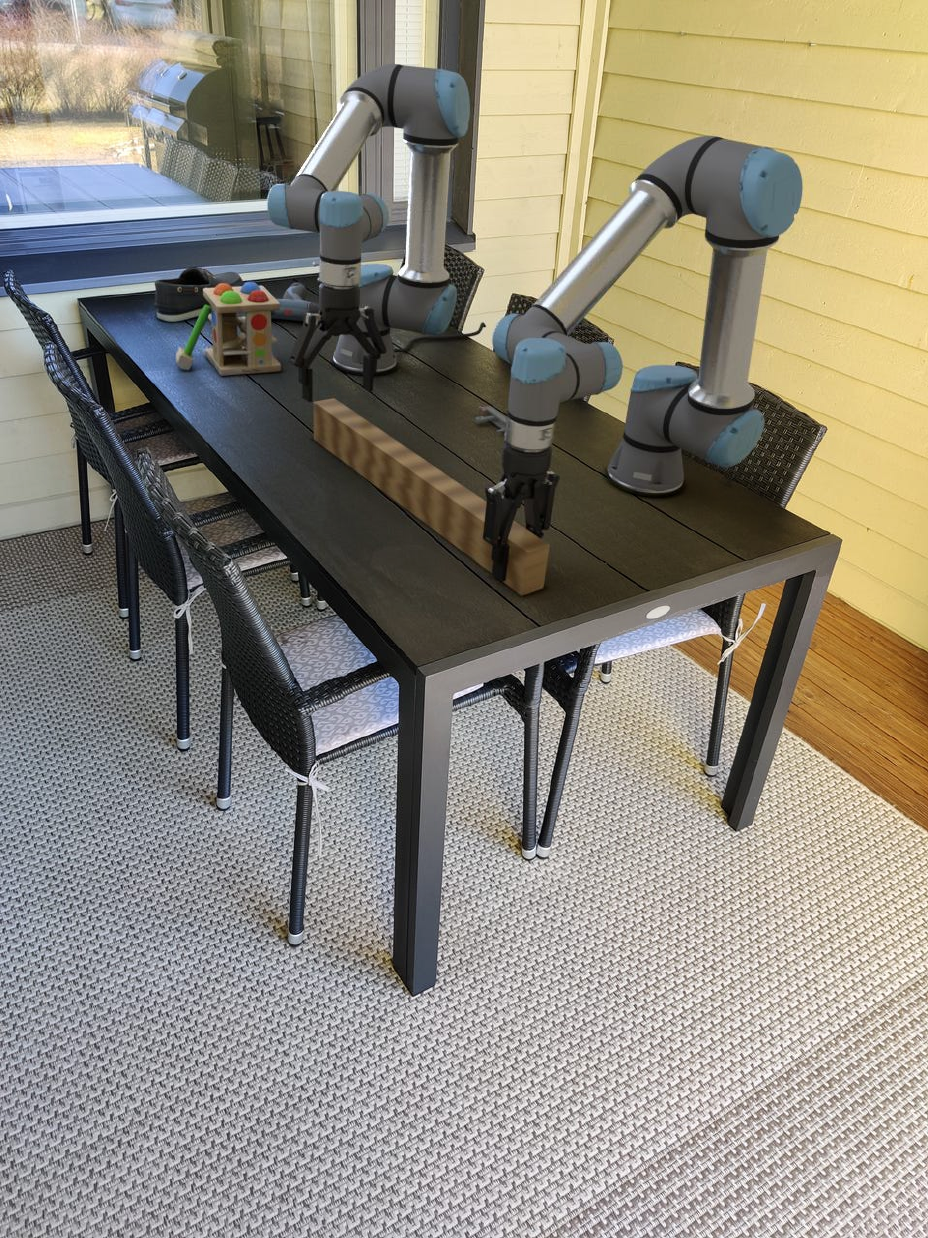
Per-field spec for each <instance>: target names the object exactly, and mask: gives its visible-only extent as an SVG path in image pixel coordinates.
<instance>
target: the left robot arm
mask: <svg viewBox="0 0 928 1238" xmlns="http://www.w3.org/2000/svg"><path fill="white" fill-rule="evenodd" d="M470 118H471V101H470V94H469V89H468V86H467V83H466V80H465V79H464V77H463V76H462V75H461V74H459V73H458V72H455V71H452V70H451V71H450V70H446V69H444V68H435V67H434V68H433V67H423V66H414V65H405V64H399V63H398V64H397V63H386V64H383V65H379V66H377V67H375V68H372V69H370V70H368V71H366V72H365V73H364V74H362V75H360V76H359V77H358V78H357V79H355V80H354V81H353V82H351V84H350V85H349V86H348V87H347V88H346V89H345V91H344V92H343V93H342V96H341V97H340V98H339V100H338V103H337V113H336V114H335V116H334V118H333V119H332V120H331V122H330V123H329V125H328V126H327V128H326V130H325V131H324V132H323V134H322V136H321V138H320V139H319V140H318V142H317V144H316V145H315V146H314V148H313V150H312V151H311V152H310V154H309V156H308V158H307V159H306V161H305V162H304V163H303V165H302V166H301V168H300V170H299V172H297V174H296V175H295V177H294V179H293V180H292V182H291V183H290V184H288V183H286V182H285V183H276V184H274V185H272V187H270V189H269V192H268V195H267V200H266V211H267V214H268V218H269V220H270V221H271V223H273V225H275V226H278V227H283V228H287V229H290V230H296V231H297V230H298V231H302V232H303V231H304V232H310V233H317V234H319V263H320V265H318V266H319V268H318V269H319V271H318V272H319V273H318V278H319V280H320V281H321V282H320V284H319V289H318V293H319V294H318V304H320V311H319V314H311V313H309V312H305V314H304V321H302V325H301V328H300V331H299V333H298V336H297V338H296V340H295V342H294V345H293V348H292V349H291V352H290V355H289V357H288V363H289V364H291V365H292V366H295V367H296V368H297V371H298V373H297V374H298V379H297V380H298V383H299V384H300V385H301V398H302V399H303V400H304V401H306V402H308V403H314V402H313V399H314V398H313V397H314V396H313V392H314V391H313V388H314V387H313V386H314V385H313V384H314V383H313V381H314V380H313V378H314V377H313V375H314V370H313V368H312V367H311V364H312V363H313V361H314V360H315V359H316V358H317V356H318V354H319V353H320V351H321V350H322V348H323V347H324V346H325V344H326V343H327V342H328V341H330V340H331V339H332V337H339V338H338V341H337V344H336V348H335V350H334V352H333V361H332V362H333V363H332V364H333V366H334V367H335V368H337V369H338V370H339V371H342V372H344V373H347V374H352V375H356V376H362V384H361V385H362V387H361V388H362V389H364V390H366V391H367V392H369V393H371V392H373V391H374V376H380V375H381V376H382V375H386V374H389V373H391V372H393V371H395V369H396V368H397V361H398V360H397V354H396V353H398V354H400V353H401V354H402V353H405V352H407V351H408V350H409V349H410V347H411V346H412V345H413V344H414V343H417V342H421V341H428V340H429V341H430V340H431V341H432V340H450V339H462V338H472V337H475V336H478V335H480V334H481V333H482V331H483V329H484V328H487V325H486V324H485V322H483V321H482V322H480V324H479V327H478V330H476V331H472V332H469V333H458V334H445V335H443V334H444V332H446V330H447V329H448V327H449V325H450V323H451V320H452V318H453V315H454V311H455V308H456V304H457V300H458V299H457V297H458V292H457V287H456V286H455V285H453V284H451V283H450V273H449V272H448V270H446V268H445V267H444V260H445V244H446V228H447V214H448V195H449V181H450V165H451V164H450V163H451V152H452V151H454V149H455V148H457V146H459V139H460V138H462V137H464V136H465V135H466V134H467V132H468V129H469V122H470ZM386 127H387V128H389V127H391V128H395V129H401V130H403V135H402V141H403V142H404V143H405V144H406V146H407V147H408V148H409V165H408V188H407V189H408V191H407V195H408V196H407V213H406V215H407V217H406V237H405V238H406V241H405V264H404V265H403V266H402V267H401V268H399V269H398V272H397V273H398V274H397V275H396V274H394V273H395V272H394V269H393V267H392V266H391V265H388V264H385V263H384V264H383V263H366V264H362V247H363V246H362V245H363V244H364V243H365V242H367V241H369V240H371V239H375V238H377V237H378V236H380V234H381V233H382V232H384V230H386V228H387V227H388V223H389V219H390V212H389V208H388V206H387V204H386V202H385V201H384V199H382V197H380V196H378V195H377V194H374V193H362V194H357V193H356V192H352V191H343V190H337V189H338V188H339V186H340V184H341V183H342V182H343V180H344V178H345V177H346V175H347V173H348V172H349V170H350V168H351V166H353V164H354V162H355V160H356V159H357V157H358V155H359V154H360V153H361V151H362V149H363V147H364V146H365V144H366V142H367V141H368V139H369V138H370V137H373V136H375V135H376V134H378V132H379V131H380V130H381V128H386ZM319 323H320V324H319ZM318 325H319V326H318ZM317 326H318V327H317ZM316 327H317V329H316ZM391 329H397V330H401V331H406V332H412V333H417V334H421V335H422V336H418V337H415V338H412V339H409V341H408V342H407V343H406V345H405V346H404V347H402V348H395V347H394V343H393V341H392V337H391V336H392V335H391ZM314 333H315V334H314ZM424 335H425V336H424ZM426 335H427V336H426Z"/></svg>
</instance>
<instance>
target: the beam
mask: <svg viewBox="0 0 928 1238" xmlns="http://www.w3.org/2000/svg"><path fill="white" fill-rule="evenodd" d="M313 441H315V442H316V443H318V444H319V445H320V446H322V447H323V448H324V449H326V450H327V451H328V452H330V454H333V456H335V457H336V458H337V459H339V460H341V461H342V462H343V463H344V464H346V465H347V466H348V467H350V468H351V469H352V470H354V471H355V472H356V473H358V474H359V475H360V476H362V477H363V478H364V479H366V480H367V481H368V482H369V483H371V484H372V485H374V486H375V487H376V488H378V489H379V490H380V491H381V492H383V493H384V494H386V495H387V496H388V497H390V498H391V499H392V500H393V501H395V502H396V503H398V504H399V505H400V506H402V508H404V509H405V510H407V511H408V512H410V513H411V514H412V515H413V516H415V517H416V518H417V519H418V520H420V521H421V522H423V524H425V525H427V526H428V527H429V528H431V529H432V530H434V532H436V533H437V534H439V535H440V536H441V537H442V538H444V539H445V540H447V541H448V542H449V543H450V544H452V545H453V546H455V547H456V548H457V549H459V550H460V551H461V552H463V553H464V554H465V555H466V556H468V557H469V558H470V559H472V560H473V561H474V562H475V563H477V564H479V565H480V566H481V567H482V568H483V569H485V570H486V571H488V572H489V573H491V574H492V567H493V560H492V559H491V555H492V545H490V544H489V543H487V542H486V541H485V540H483V531H484V522H485V512H486V503H487V500H484V499H483V498H482V497H480V496H478V495H477V494H475V492H472V491H471V490H469V489H468V488H466V487H465V486H464V485H463V484H461V483H460V482H458V481H457V480H455V479H454V478H452V477H450V476H449V475H448V474H446V472H443V471H442V470H440V469H439V468H437V467H436V466H434V464H432V463H430V462H428V461H427V460H426V459H424V458H422V457H421V456H420V455H418V454H417V453H415V452H414V451H412V450H411V449H410V448H408V447H407V446H405V445H404V444H402V443H401V442H400V441H398V440H396V439H395V438H393V437H392V436H390V435H389V434H388V433H386V432H385V431H383V430H382V429H380V428H379V427H377V426H375V425H374V424H373V423H372V422H370V421H368V420H367V419H366V418H364V417H363V416H361V415H359V414H358V413H357V412H355V411H353V410H352V409H351V408H349V407H347V406H346V405H345V404H343V403H342V402H340V400H337V399H336V398H334V397H333V398H327V399H321V400H316V401H314V402H313ZM506 544H507V545H509V546H510V548H509V556H508V564H507V572H506V580H505V581H503V582H502V583H503V584H505V585H506V586H508V587H509V588H510V589H512V590H513V591H514V592H516V593H517V594H518V595H519V596H521V597H522V596H524V595H528V594H531V593H534V592H536V591H539V590H542V589H544V586H545V580H546V574H547V573H546V572H547V568H548V560H549V554H550V547H551V544H549V543H548V542H546V541H544V540H543V539H542V538H541V539H540V538H539V537H537V536H536V535H534V534H533V533H531V532H530V531H528V530H527V529H526V527H524V526H523V525H521V524H519V523H518V522H517V521H515V520H514V521H513V524H512V527H511V530H510V533H509V537H508V540H507V543H506Z"/></svg>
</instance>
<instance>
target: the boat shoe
mask: <svg viewBox="0 0 928 1238" xmlns="http://www.w3.org/2000/svg"><path fill="white" fill-rule="evenodd" d="M221 283H226V284H228V285H230V286H231V287H242V286H243V285H244V280H243V278H242V277H241V275H240V274H239V273H238V272H235V271H227V272H221V273H216V274H213V273H211V271H209V270H208V269H206V268H203V267H197V266H195V265H193V266H190V267H187V268H186V269H184V270H183V271H182V272H181V273H180V274H179V276H178V277H176V278H175V277H174V278H161V279H156V280H154V287H155V298H154V299H155V302H154V303H153V305H154V306H155V307H156V308H157V309H156V317H157V319H159V320H161V321H164V322H171V323H172V322H181V321H185V320H189V319H192V318H196V317H199V316H200V314H201V311H202V309H203V307H204V305H208V306H210V307H211V305H210V304H209V302H208V301H207V300H206V299H205V297H204V296H203V289H204V288H215V287H216V286H217V285H218V284H221Z"/></svg>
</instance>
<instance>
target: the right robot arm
mask: <svg viewBox="0 0 928 1238" xmlns="http://www.w3.org/2000/svg"><path fill="white" fill-rule="evenodd" d="M803 184H804V183H803V177H802V173H801V169H800V167H799V165H798V164H797V163H796V162H795V159H794V158H793V157H792V156H791V155H789V154H787V153H784V152H782V151H777V150H775V149H774V148H772V147H768V146H761V145H756V144H751V143H747V142H741V141H736V140H731V139H728V138H723V137H721V136H717V135H702V136H701V135H700V136H697V137H693V138H691V139H687V140H685V141H683V142H681V143H679V144H677V145H675V146H673V147H672V148H670V149H669V150H667V151H665V152H664V153H663V154H661V155H660V156H659V157H658V158H656V159H655V160H654V161H652V162H651V163H650V164H649V165H648V166H647V167H646V168H645V169H644V170H643V171H642V172H641V173H640V174H639V175H638V176H637V177H636V178H635V180H634V181H632V183H631V184H630V186H629V189H628V190H629V196H627V198H626V199H625V200H624V201H623V203H621V205H620V206H619V207H618V208H617V209H616V210H615V211H614V213H613V214H612V215H611V216H610V217H609V218H608V220H607V221H606V222H605V223H604V224H603V225H602V226H601V227H600V229H599V230H598V231H597V232H596V233H595V234H594V235H593V236H592V237H591V239H590V240H589V241H588V242H587V243H586V245H585V246H583V248H581V250H580V251H579V252H578V253H577V255H576V256H575V257H574V258H573V259H572V260H571V261H570V262H569V264H568V265H567V266H566V267H565V268H564V269H563V270H562V271H561V273H560V274H559V275H558V276H557V277H556V278H555V279H554V280H553V282H552V283H551V284H550V285H549V286H548V287H547V288H546V289H545V290H544V292H543V293H542V294H541V295H540V296H539V298H538V299H537V300H536V301H535V302H534V303H533V304H532V306H531V307H530V308H529V309H528V310H527V311H526V312H525V313H524V314H520V313H510V314H507V315H506V316H505V315H504V316H503V317H502V318H500V320H498V322H497V323H496V325H495V327H494V329H493V332H492V338H491V342H492V348H493V350H494V353H495V354H496V355H497V357H499V358H500V359H502V360H503V361H504V362H507V363H508V364H509V365H511V367H510V380H509V381H510V383H509V392H508V403H507V413H506V424H505V425H506V426H505V432H504V435H503V439H504V441H503V444H502V452H501V454H502V455H501V466H502V471H503V472H502V475H501V476H500V479H499V482H498V483H497V484H495V485H493V486H492V485H490V484H488V485H486V487H485V488H484V493H485V497H486V502H487V503H486V512H485V522H484V531H483V540H485V541H486V542H487V543H489V544H490V545H492V555H491V559H492V560H493V567H492V573H491V575H492V576H493V577H495V578H496V579H498V581H500V582H501V583H504V582H503V581H505V580H506V572H507V564H508V556H509V548H510V546H509V545H507V544H506V543H507V540H508V537H509V533H510V530H511V527H512V524H513V521H515V518H516V514H517V512H518V509H521V506H522V504H523V508H524V520H525V529H527V530H528V531H530V532H531V533H533V534H534V535H536V536H537V537H539V538H540V539H542V538H544V536H545V533H544V532H543V531H548V530H549V529H550V526H551V522H552V521H551V520H552V514H553V507H554V501H555V493H556V489H557V486H558V484H559V481H560V478H561V477H560V475H559V474H557V473H556V472H554V471H552V470H551V469H550V467H551V461H552V453H553V447H552V445H553V443H554V439H555V433H556V432H555V431H556V425H557V419H558V413H559V407H560V403H565V402H569V401H572V400H577V399H582V398H586V397H590V396H597V395H600V394H601V393H604V392H606V391H610V390H612V389H613V388H615V387H617V385H618V384H619V382H620V381H621V379H622V375H623V371H624V370H623V369H624V365H623V359H622V356H621V354H620V351H619V350H618V349H617V348H616V347H615V346H614V345H613V344H612V343H610V342H607V341H600V342H598V341H593V342H591V343H584V342H582V341H580V340H578V339H576V338H573V337H571V336H569V335H570V334H571V333H572V332H573V330H575V328H576V327H577V326H578V325H579V324H580V323H581V322H582V321H583V320H584V319H585V318H586V316H587V315H588V314H589V313H590V311H592V309H594V307H595V306H596V305H597V304H598V303H599V301H601V299H602V298H603V297H604V295H606V293H607V292H609V290H610V289H612V287H613V286H614V285H615V283H616V282H617V281H618V280H619V279H620V278H621V277H622V275H624V273H625V272H626V271H627V270H628V268H629V267H631V265H632V264H633V263H634V262H635V261H636V260H637V258H638V257H639V256H640V255H642V254H643V252H644V251H645V250H646V249H647V247H648V246H649V245H650V244H651V243H652V242H653V240H654V239H655V238H656V237H657V236H658V235H659V234H660V232H661V231H662V230H663V229H667V230H668V229H671V228H673V227H674V226H675V225H676V224H677V223H678V222H679V221H680V219H682V218H683V217H685V216H689V215H695V216H697V217H702V218H705V230H704V239H705V241H706V242H707V243H708V244H709V245H710V247H711V248H712V251H711V252H712V253H711V261H710V270H709V280H708V289H707V295H706V305H705V315H704V324H703V334H702V342H701V348H700V349H701V350H700V360H699V367H698V373H697V372H696V370H694V369H692V368H689V367H685V366H681V365H673V364H655V365H647V366H644V367H642V368H639V370H638V371H636V372H635V375H634V377H633V382H632V386H631V388H630V394H629V401H628V404H627V411H626V417H625V423H624V429H623V433H622V438H621V441H620V442H619V445H618V446H617V448H616V449H615V452H614V454H613V455H612V457H611V459H610V460H609V463H608V465H607V468H606V469H607V470H606V478H607V480H608V481H609V482H610V483H611V485H613V486H615V487H616V488H617V489H620V490H621V491H624V492H626V493H629V494H632V495H636V496H643V497H649V498H650V497H651V498H662V497H668V496H673V495H675V494H677V493H678V492H680V491H681V490H682V488H683V484H684V480H685V473H684V465H683V456H682V450H684V451H686V452H688V453H691V454H692V455H694V456H696V457H699V458H701V460H705V462H706V463H707V464H712V465H716V466H718V467H720V468H725V469H726V468H727V469H728V468H732V467H734V466H736V465H738V464H739V463H741V462H743V460H745V459H746V458H747V457H748V456H749V454H751V452H752V451H753V450H754V448H755V447H756V445H757V444H758V442H759V440H760V439H761V436H762V433H763V431H764V428H765V417H764V415H763V413H762V412H761V411H760V410H758V409H756V408H754V403H755V396H756V394H755V393H756V392H755V389H754V388H753V386H752V385H751V384H750V383H749V376H750V368H751V362H752V357H753V349H754V342H755V335H756V328H757V323H758V315H759V307H760V301H761V295H762V288H763V283H764V274H765V269H766V261H767V254H768V250H770V249H771V248H772V247H773V246H775V245H776V244H777V243H778V242H779V240H780V236H781V235H783V234H784V233H785V232H787V231H788V230H789V228H790V227H791V226H792V225H793V223H794V221H795V215H797V214H799V210H800V207H801V203H802V198H803V189H804V187H803Z"/></svg>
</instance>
